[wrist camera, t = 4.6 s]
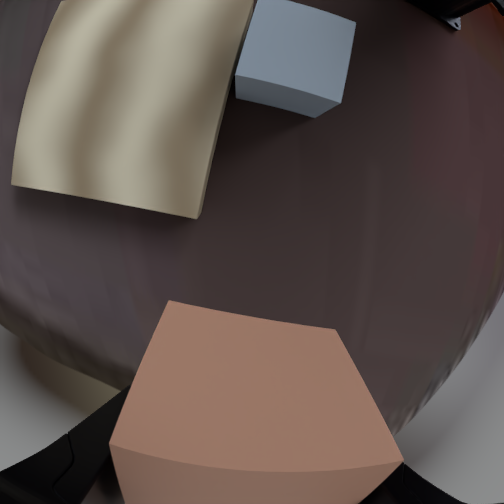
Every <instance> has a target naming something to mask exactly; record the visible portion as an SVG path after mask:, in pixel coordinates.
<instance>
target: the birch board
mask: <svg viewBox="0 0 504 504" xmlns="http://www.w3.org/2000/svg"><path fill="white" fill-rule="evenodd" d="M253 2H254V0H66V1H61V3H60V5H59V7H58V9H57V11H56V13H55V16H54V18H53V20H52V22H51V24H50V27H49V29H48V31H47V34H46V36H45V39H44V41H43V44H42V47H41V49H40V52H39V55H38V58H37V61H36V64H35V67H34V70H33V73H32V76H31V79H30V83H29V86H28V90H27V94H26V98H25V102H24V106H23V110H22V114H21V119H20V124H19V129H18V135H17V141H16V147H15V154H14V161H13V170H12V181H11V185H16V186H22V187H28V188H34V189H39V190H45V191H51V192H57V193H63V194H68V195H74V196H79V197H85V198H90V199H96V200H101V201H107V202H112V203H117V204H123V205H128V206H133V207H138V208H143V209H148V210H154V211H159V212H164V213H169V214H174V215H179V216H184V217H189V218H193V219H197V218H198V217H199V215H200V214H201V211H202V206H203V201H204V196H205V191H206V187H207V182H208V177H209V173H210V168H211V164H212V159H213V155H214V151H215V146H216V142H217V138H218V134H219V130H220V126H221V121H222V117H223V114H224V110H225V106H226V102H227V98H228V94H229V90H230V87H231V83H232V79H233V76H234V72H235V69H236V65H237V62H238V58H239V55H240V51H241V48H242V45H243V41H244V38H245V35H246V31H247V28H248V25H249V22H250V19H251V16H252V11H253Z"/></svg>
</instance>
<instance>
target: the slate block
mask: <svg viewBox="0 0 504 504" xmlns="http://www.w3.org/2000/svg"><path fill="white" fill-rule="evenodd" d="M355 26H356V22H353V21H350V20H348V19H345V18H343V17H340V16H337V15H334V14H331V13H328V12H325V11H322V10H319V9H316V8H313V7H309V6H306V5H302V4H299V3H295V2H291V1H287V0H258V1H257V4H256V7H255V10H254V13H253V17H252V20H251V23H250V26H249V29H248V32H247V36H246V39H245V42H244V46H243V49H242V52H241V56H240V59H239V63H238V66H237V70H236V73H235V86H236V98H238V99H243V100H247V101H252V102H256V103H261V104H265V105H269V106H273V107H277V108H281V109H285V110H288V111H292V112H296V113H299V114H303V115H306V116H310V117H313V118H316V117H317V116H319V115H321V114H323V113H324V112H326V111H328V110H330V109H331V108H333V107H335V106H337V105H339V104H340V103H341V100H342V96H343V91H344V86H345V81H346V76H347V71H348V65H349V60H350V55H351V49H352V44H353V38H354V32H355Z"/></svg>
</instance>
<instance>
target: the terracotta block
mask: <svg viewBox="0 0 504 504" xmlns="http://www.w3.org/2000/svg"><path fill="white" fill-rule="evenodd" d="M109 446H110V451H111V455H112V459H113V463H114V467H115V471H116V475H117V478H118V482H119V485H120V489H121V492H122V495H123V498H124V501H125V504H358V503H359V502H361V501H362V500H363V499H364V498H365V497H366V496H368V495H369V494H370V493H371V492H372V491H373V490H374V489H375V488H376V487H378V486H379V485H380V484H381V483H382V482H383V481H384V480H385V479H386V478H387V477H388V476H389V475H390V474H391V473H392V472H393V471H394V470H395V469H396V468H397V467H398V466H399V465H400V464H401V463H402V462H403V461H404V459H403V457H402V455H401V453H400V451H399V449H398V447H397V445H396V443H395V441H394V439H393V437H392V435H391V433H390V431H389V429H388V427H387V425H386V423H385V421H384V419H383V417H382V415H381V413H380V411H379V410H378V408H377V406H376V404H375V402H374V400H373V398H372V396H371V394H370V392H369V391H368V389H367V387H366V385H365V383H364V381H363V379H362V377H361V376H360V374H359V372H358V370H357V368H356V366H355V365H354V363H353V361H352V359H351V357H350V355H349V354H348V352H347V350H346V348H345V346H344V344H343V343H342V341H341V339H340V337H339V336H338V334H337V332H336V330H335V329H327V328H320V327H313V326H306V325H299V324H292V323H286V322H279V321H273V320H267V319H261V318H255V317H250V316H244V315H239V314H233V313H228V312H223V311H217V310H212V309H207V308H202V307H198V306H193V305H188V304H183V303H179V302H174V301H170V300H169V301H168V303H167V306H166V308H165V310H164V312H163V314H162V316H161V319H160V321H159V323H158V325H157V327H156V330H155V332H154V334H153V336H152V339H151V341H150V343H149V345H148V348H147V350H146V352H145V355H144V357H143V359H142V362H141V364H140V366H139V369H138V371H137V373H136V376H135V378H134V381H133V383H132V386H131V388H130V390H129V393H128V395H127V398H126V400H125V403H124V405H123V408H122V411H121V413H120V416H119V418H118V421H117V423H116V426H115V429H114V431H113V434H112V437H111V439H110V442H109Z"/></svg>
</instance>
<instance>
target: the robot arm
mask: <svg viewBox="0 0 504 504" xmlns="http://www.w3.org/2000/svg"><path fill="white" fill-rule="evenodd" d="M406 1H408V2H410V3H412V4H414V5H415V6H417V7H419V8H421V9H422V10H424V11H426V12H427V13H429V14H431V15H432V16H434V17H435V18H437V19H439V20H440V21H442V22H443V23H445V24H446V25H448V26H449V27H451V28H452V29H453V30H455V31H458V30H460V29H461V25H460V17H461V16H463V15H465V14H467V13H469V12H471V11H473V10H475V9H478V8H480V7H482V6H484V5H486V4H489V3H491V2H492V3H493V4H494V5H495V7H496V8H497V9H498V11H499V13H500V14H501V15H502V16H504V0H406ZM132 383H133V382H132ZM132 383H131V384H130V385H129V386H127V387H126V388H125V389H123V390H122V391H121V392H120V393H118V394H117V395H116V396H115V397H113V398H112V399H111V400H109V401H108V402H107V403H105V404H104V405H103V406H102V407H101V408H99V409H98V410H96V411H95V412H94V413H92V414H91V415H90V416H89V417H87V418H86V419H85V420H83V421H82V422H81V423H79V424H78V425H77V426H75V427H74V428H73V429H71V430H70V431H69V432H68V434H65V435H63V436H62V437H60V438H59V439H58V440H56V441H55V442H54V443H52V444H51V445H49V446H48V447H46V448H45V449H43V450H41V451H39V452H38V453H36V454H34V455H32V456H30V457H28V458H26V459H25V460H23V461H21V462H19V463H17V464H15V465H13V466H11V467H9V468H7V469H4V470H2V471H0V504H125V501H124V498H123V495H122V492H121V489H120V485H119V482H118V478H117V475H116V471H115V467H114V463H113V459H112V455H111V451H110V446H109V442H110V439H111V437H112V434H113V431H114V429H115V426H116V423H117V421H118V418H119V416H120V413H121V411H122V408H123V405H124V403H125V400H126V398H127V395H128V393H129V390H130V388H131V386H132ZM358 504H467V503H464V502H461V501H459V500H457V499H455V498H454V497H452V496H450V495H448V494H447V493H445V492H444V491H442V490H440V489H439V488H437V487H436V486H434V485H433V484H431V483H430V482H428V481H427V480H425V479H424V478H422V477H421V476H420V475H418V474H417V473H416V472H415V471H413V470H412V469H411V468H410V467H408V466H407V465H406V464H404V463H403V462H402V463H401V464H400V465H399V466H398V467H397V468H396V469H395V470H394V471H393V472H392V473H391V474H390V475H389V476H388V477H387V478H386V479H385V480H384V481H383V482H382V483H381V484H380V485H379V486H378V487H376V488H375V489H374V490H373V491H372V492H371V493H370V494H369V495H368V496H366V497H365V498H364V499H363V500H362V501H361V502H359V503H358ZM497 504H504V503H497Z"/></svg>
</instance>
